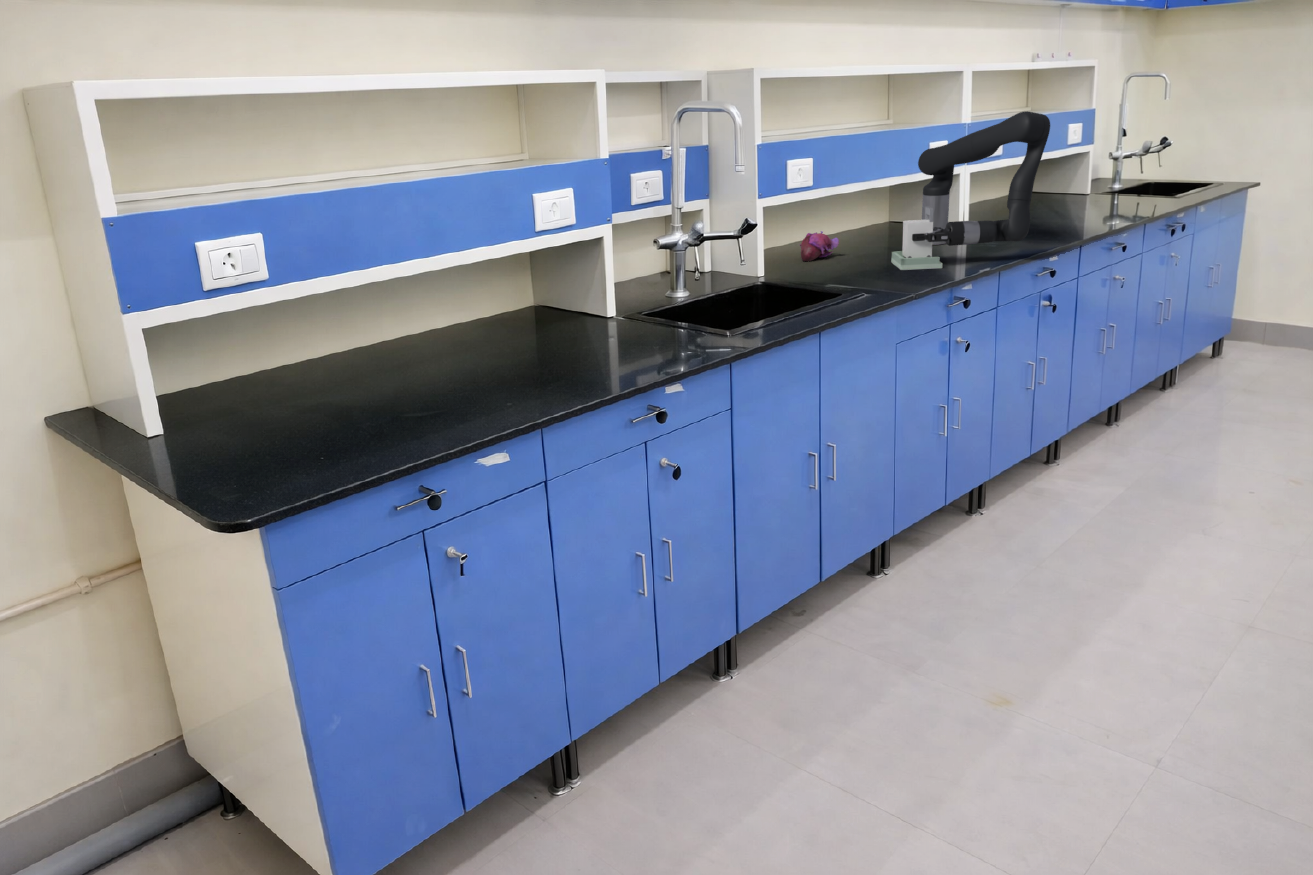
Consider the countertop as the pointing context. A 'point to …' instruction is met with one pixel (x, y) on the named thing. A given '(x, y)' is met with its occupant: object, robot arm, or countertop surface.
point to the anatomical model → (817, 246)
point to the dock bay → (915, 262)
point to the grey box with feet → (916, 227)
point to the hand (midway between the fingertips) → (910, 236)
